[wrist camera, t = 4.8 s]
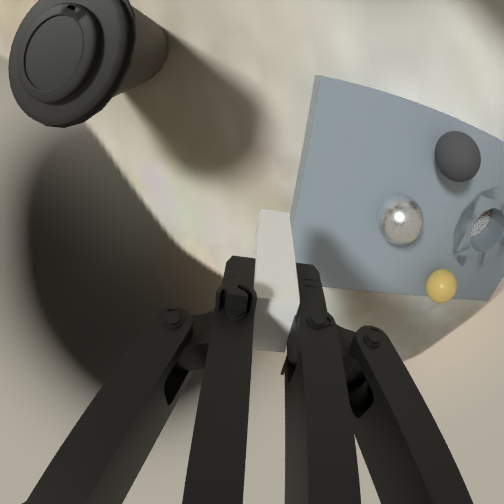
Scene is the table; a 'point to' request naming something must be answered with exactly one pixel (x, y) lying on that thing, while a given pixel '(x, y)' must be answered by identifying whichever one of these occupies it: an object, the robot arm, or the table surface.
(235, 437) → the robot arm
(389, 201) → the steel ball
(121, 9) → the coffee cup
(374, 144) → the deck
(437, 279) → the mustard ball
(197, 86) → the table surface
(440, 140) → the black ball
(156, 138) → the table surface
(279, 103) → the table surface
